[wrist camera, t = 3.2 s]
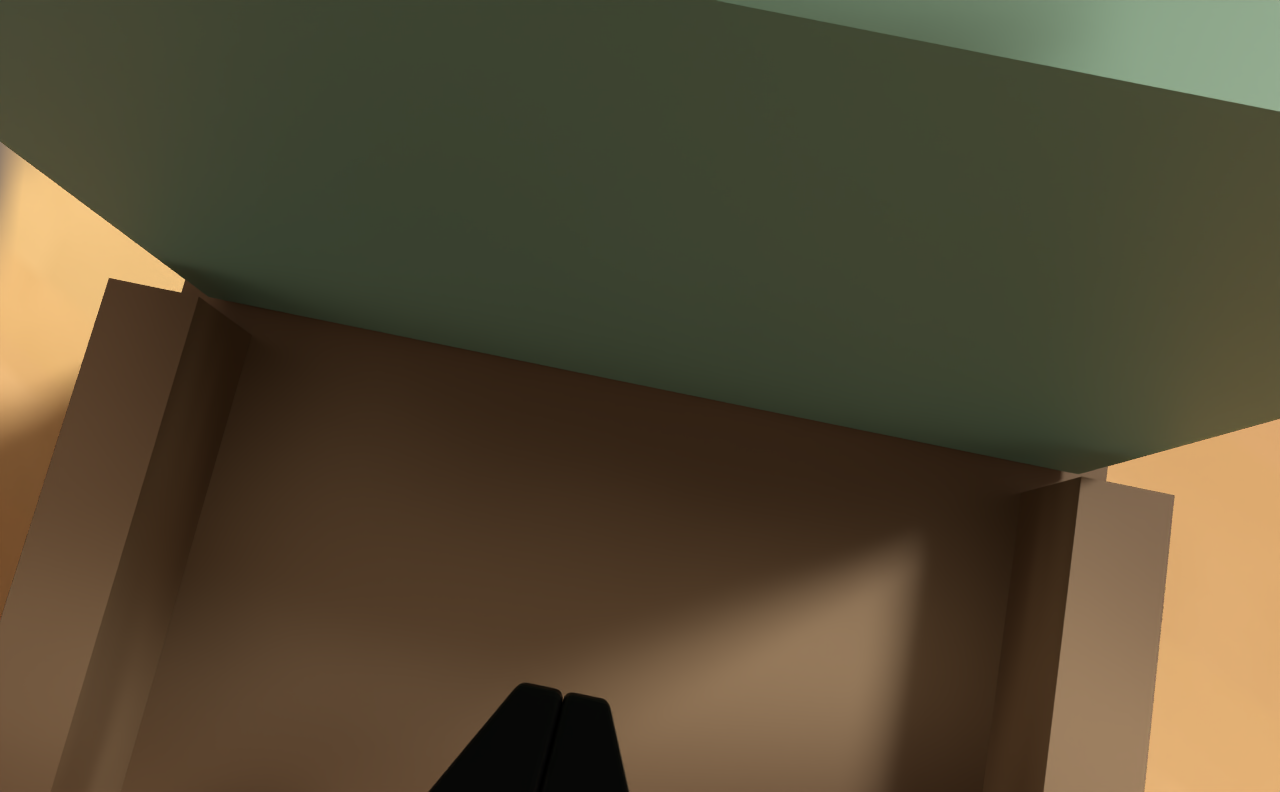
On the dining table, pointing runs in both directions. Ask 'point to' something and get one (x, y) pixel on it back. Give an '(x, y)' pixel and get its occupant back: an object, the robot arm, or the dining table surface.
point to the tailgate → (718, 193)
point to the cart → (546, 579)
